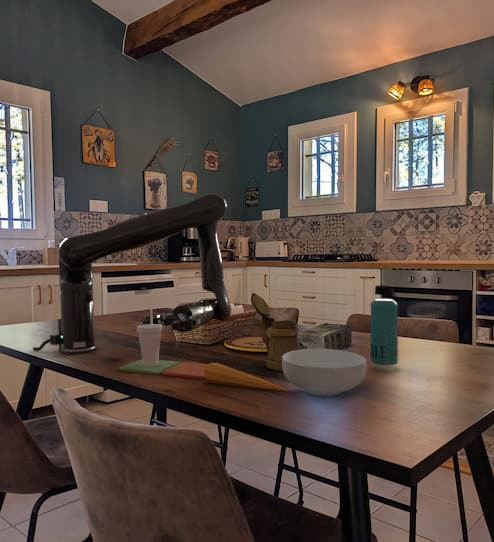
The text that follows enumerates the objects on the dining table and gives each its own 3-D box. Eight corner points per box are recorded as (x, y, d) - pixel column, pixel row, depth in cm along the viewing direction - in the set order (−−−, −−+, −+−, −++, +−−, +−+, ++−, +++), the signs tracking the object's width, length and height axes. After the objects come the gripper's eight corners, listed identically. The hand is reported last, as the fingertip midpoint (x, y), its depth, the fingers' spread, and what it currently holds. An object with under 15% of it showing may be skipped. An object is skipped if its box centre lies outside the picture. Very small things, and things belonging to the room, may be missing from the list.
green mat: (118, 370, 124) (118, 367, 124) (143, 360, 134) (143, 358, 134) (157, 374, 119) (156, 371, 119) (180, 363, 129) (180, 361, 129)
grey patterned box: (324, 357, 134) (323, 333, 134) (291, 353, 140) (290, 331, 139) (353, 345, 150) (353, 324, 150) (323, 342, 156) (322, 322, 156)
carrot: (202, 385, 112) (199, 368, 110) (213, 373, 115) (210, 356, 113) (286, 407, 102) (285, 389, 100) (295, 393, 106) (293, 375, 104)
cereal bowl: (310, 408, 93) (309, 370, 92) (267, 385, 108) (267, 352, 108) (384, 396, 100) (384, 360, 99) (334, 376, 115) (334, 345, 114)
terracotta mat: (160, 374, 119) (160, 372, 119) (183, 364, 129) (183, 361, 129) (202, 379, 114) (202, 376, 114) (223, 367, 124) (223, 365, 124)
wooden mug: (261, 359, 133) (260, 290, 132) (309, 365, 126) (308, 292, 125) (243, 366, 126) (242, 293, 125) (292, 373, 118) (291, 296, 117)
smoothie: (158, 368, 123) (157, 310, 122) (133, 367, 124) (131, 310, 123) (166, 361, 129) (165, 307, 128) (143, 361, 130) (141, 306, 130)
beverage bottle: (398, 366, 123) (398, 284, 122) (398, 373, 117) (398, 286, 116) (370, 364, 125) (370, 283, 124) (368, 371, 119) (368, 286, 118)
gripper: (167, 302, 147) (134, 309, 133) (211, 304, 142) (182, 311, 127) (167, 328, 148) (135, 338, 133) (211, 331, 142) (183, 341, 127)
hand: (158, 325), depth 130 cm, fingers open, 8 cm apart
